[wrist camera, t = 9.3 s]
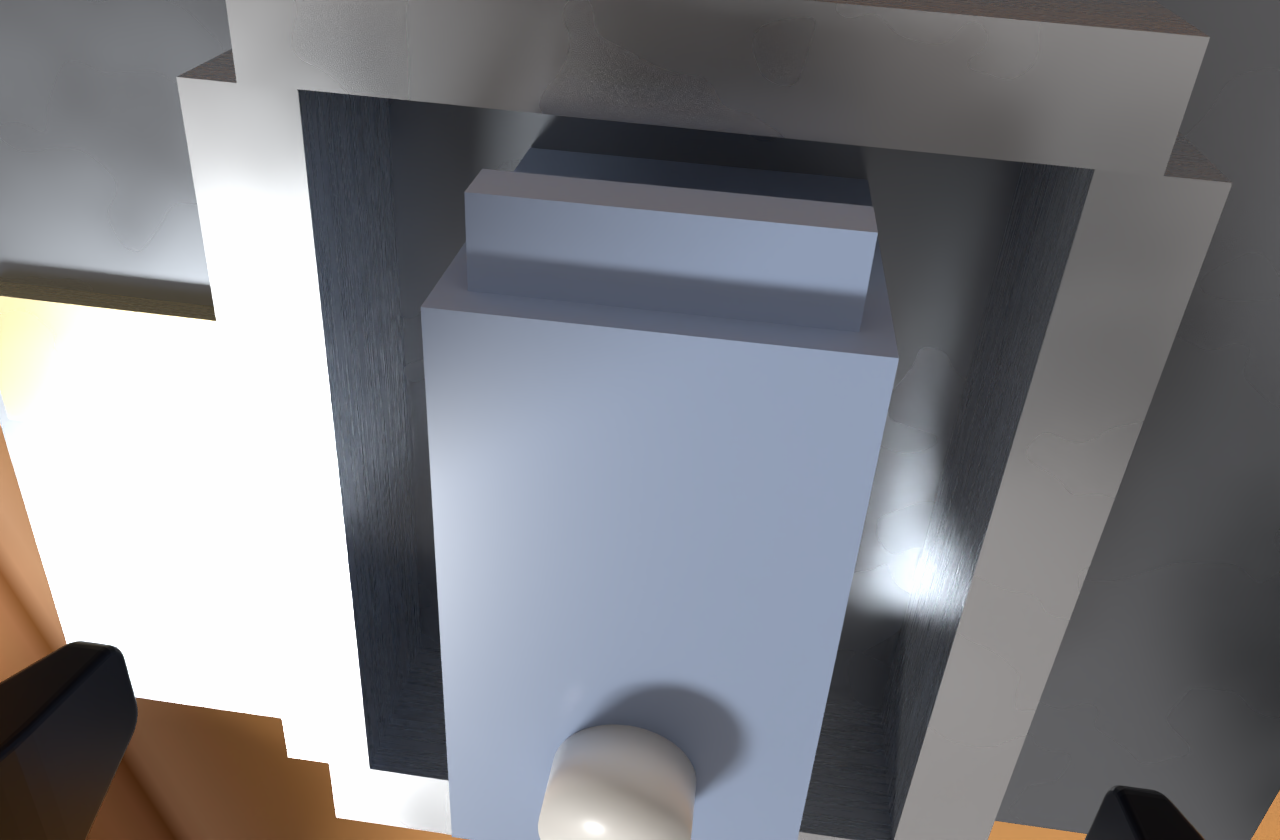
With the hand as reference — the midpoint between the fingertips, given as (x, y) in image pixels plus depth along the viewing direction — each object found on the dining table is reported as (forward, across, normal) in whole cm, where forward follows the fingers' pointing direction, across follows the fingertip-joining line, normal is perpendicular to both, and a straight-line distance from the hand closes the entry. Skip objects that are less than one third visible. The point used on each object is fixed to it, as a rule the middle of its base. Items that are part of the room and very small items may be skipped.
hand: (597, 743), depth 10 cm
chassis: (+6, 0, 0) cm, 7 cm away
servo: (+6, 0, 0) cm, 6 cm away
